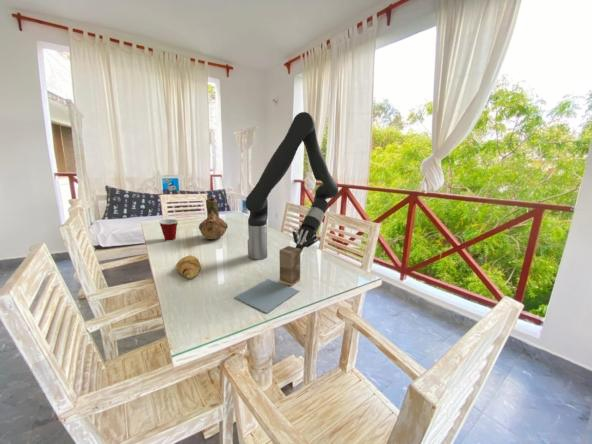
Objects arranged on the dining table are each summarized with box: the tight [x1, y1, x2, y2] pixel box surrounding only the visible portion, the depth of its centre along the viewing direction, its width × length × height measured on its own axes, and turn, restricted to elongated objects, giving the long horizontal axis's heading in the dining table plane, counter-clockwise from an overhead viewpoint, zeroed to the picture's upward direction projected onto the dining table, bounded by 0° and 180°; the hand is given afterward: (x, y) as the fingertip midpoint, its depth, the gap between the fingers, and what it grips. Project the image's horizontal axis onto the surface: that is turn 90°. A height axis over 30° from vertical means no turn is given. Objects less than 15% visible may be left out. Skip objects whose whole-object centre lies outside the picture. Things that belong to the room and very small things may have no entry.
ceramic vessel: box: [198, 197, 228, 240], centre depth 157 cm, size 17×26×25 cm, turn 16°
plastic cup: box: [158, 218, 179, 241], centre depth 157 cm, size 11×11×12 cm
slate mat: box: [234, 278, 300, 314], centre depth 95 cm, size 18×16×1 cm
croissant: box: [175, 255, 202, 280], centre depth 114 cm, size 21×10×8 cm, turn 28°
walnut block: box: [279, 245, 301, 287], centre depth 104 cm, size 6×6×14 cm
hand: (296, 253), depth 106 cm, fingers closed
